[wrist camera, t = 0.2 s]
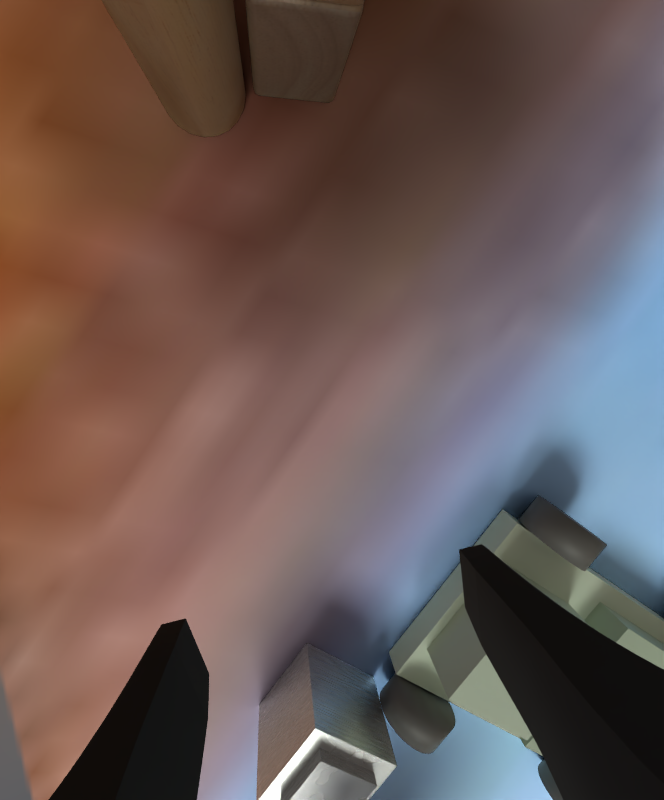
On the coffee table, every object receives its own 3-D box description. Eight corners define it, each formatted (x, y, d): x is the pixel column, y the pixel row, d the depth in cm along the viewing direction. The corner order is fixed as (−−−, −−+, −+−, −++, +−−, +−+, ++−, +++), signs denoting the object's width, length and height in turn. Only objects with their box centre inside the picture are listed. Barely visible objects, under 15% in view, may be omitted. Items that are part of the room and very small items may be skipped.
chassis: (569, 776, 29) (621, 861, 25) (370, 674, 25) (391, 754, 21) (712, 617, 28) (794, 678, 23) (522, 483, 24) (579, 526, 19)
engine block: (326, 734, 26) (340, 851, 21) (259, 703, 25) (256, 818, 20) (373, 675, 26) (400, 779, 20) (306, 642, 24) (316, 741, 19)
